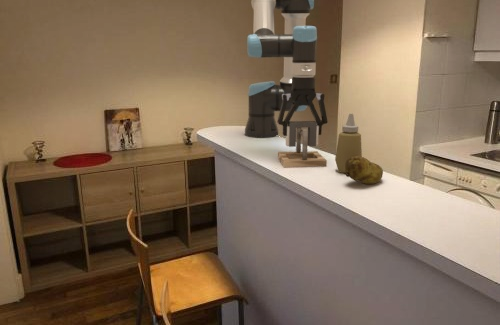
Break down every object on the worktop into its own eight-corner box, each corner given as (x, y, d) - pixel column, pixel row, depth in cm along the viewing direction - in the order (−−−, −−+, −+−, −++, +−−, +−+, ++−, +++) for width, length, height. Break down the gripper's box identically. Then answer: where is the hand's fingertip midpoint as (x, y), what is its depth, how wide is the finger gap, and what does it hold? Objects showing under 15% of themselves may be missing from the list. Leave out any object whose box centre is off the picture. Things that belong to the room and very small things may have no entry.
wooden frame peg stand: (277, 157, 146) (278, 123, 143) (316, 156, 147) (318, 123, 144) (283, 167, 133) (284, 130, 130) (326, 166, 135) (328, 129, 131)
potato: (392, 185, 115) (395, 157, 113) (350, 189, 112) (352, 161, 110) (376, 177, 123) (378, 151, 121) (337, 180, 120) (338, 153, 118)
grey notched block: (289, 146, 137) (289, 122, 135) (287, 144, 140) (288, 121, 138) (315, 146, 138) (316, 122, 136) (313, 144, 140) (314, 120, 138)
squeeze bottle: (361, 175, 124) (365, 116, 119) (334, 174, 126) (337, 115, 121) (360, 168, 132) (364, 112, 127) (334, 167, 133) (337, 111, 129)
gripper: (271, 77, 128) (271, 148, 134) (340, 76, 130) (336, 146, 136) (268, 76, 136) (268, 143, 141) (333, 75, 137) (330, 141, 143)
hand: (301, 144), depth 139 cm, fingers closed on grey notched block, 9 cm apart
